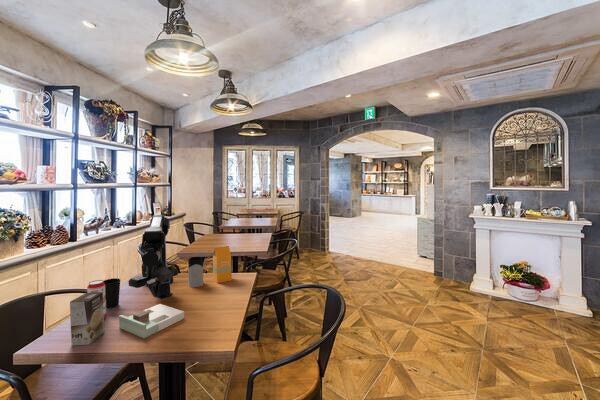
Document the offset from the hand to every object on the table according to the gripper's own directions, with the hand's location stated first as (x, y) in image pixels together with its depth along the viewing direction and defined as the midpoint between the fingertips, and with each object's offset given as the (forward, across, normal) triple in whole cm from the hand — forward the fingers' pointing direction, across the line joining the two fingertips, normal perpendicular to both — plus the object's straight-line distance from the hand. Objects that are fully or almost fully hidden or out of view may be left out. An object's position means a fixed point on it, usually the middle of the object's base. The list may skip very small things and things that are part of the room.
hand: (155, 296), depth 120 cm
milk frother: (+11, +32, +43) cm, 54 cm away
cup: (+11, 0, +32) cm, 34 cm away
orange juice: (+11, +52, +12) cm, 54 cm away
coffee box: (+11, -20, +10) cm, 25 cm away
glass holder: (+11, +41, +22) cm, 47 cm away
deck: (+10, -1, 0) cm, 11 cm away
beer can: (+11, -10, +24) cm, 28 cm away
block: (+8, -6, 0) cm, 10 cm away
